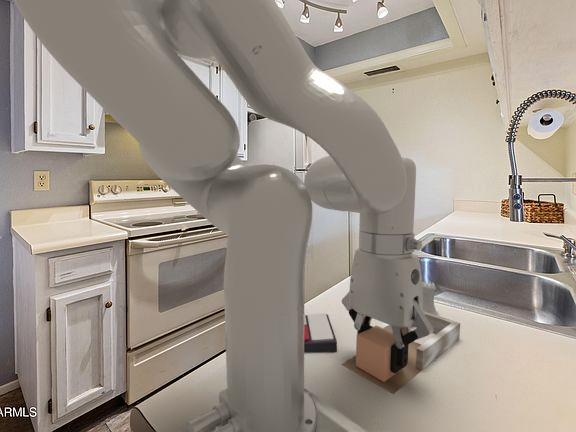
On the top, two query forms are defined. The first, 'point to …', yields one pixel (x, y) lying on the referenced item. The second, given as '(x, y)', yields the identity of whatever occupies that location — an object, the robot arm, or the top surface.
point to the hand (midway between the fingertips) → (380, 359)
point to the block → (375, 352)
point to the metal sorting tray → (416, 352)
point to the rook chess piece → (429, 297)
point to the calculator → (319, 334)
